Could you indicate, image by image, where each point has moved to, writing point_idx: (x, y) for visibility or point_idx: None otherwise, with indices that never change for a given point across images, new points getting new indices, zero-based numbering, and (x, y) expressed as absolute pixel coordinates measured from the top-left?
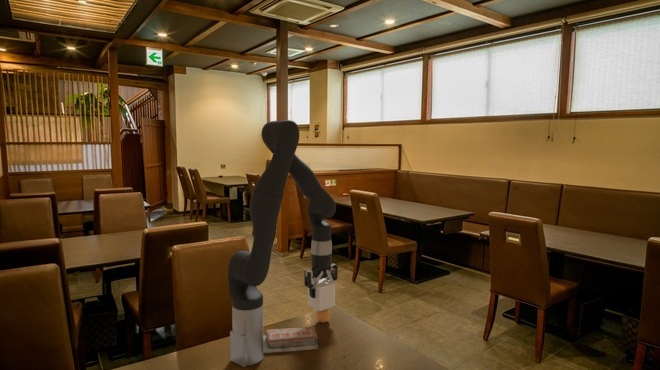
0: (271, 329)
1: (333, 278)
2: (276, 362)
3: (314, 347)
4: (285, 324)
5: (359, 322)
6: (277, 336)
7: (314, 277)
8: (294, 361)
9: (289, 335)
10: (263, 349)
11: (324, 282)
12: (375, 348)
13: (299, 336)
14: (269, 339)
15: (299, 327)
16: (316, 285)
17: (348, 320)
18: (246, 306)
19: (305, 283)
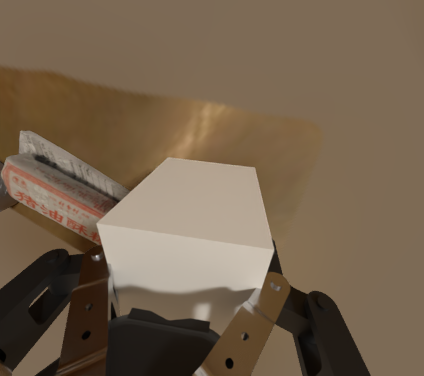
0: (15, 173)
1: (288, 329)
2: (43, 224)
3: None
4: (114, 109)
5: (282, 242)
6: (30, 204)
7: (106, 313)
8: (74, 241)
9: (59, 220)
10: (3, 206)
11: (196, 304)
12: None
13: (82, 235)
14: (12, 197)
15: (95, 213)
16: (120, 297)
17: (273, 220)
18: None
19: (31, 276)
